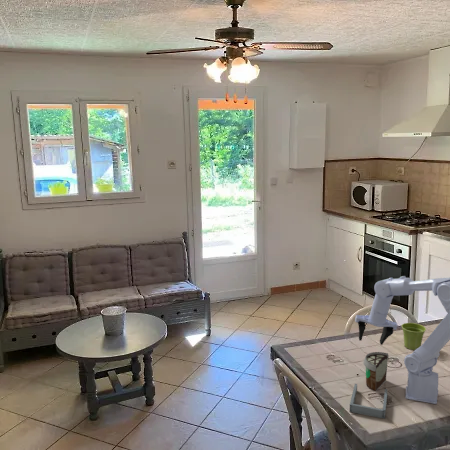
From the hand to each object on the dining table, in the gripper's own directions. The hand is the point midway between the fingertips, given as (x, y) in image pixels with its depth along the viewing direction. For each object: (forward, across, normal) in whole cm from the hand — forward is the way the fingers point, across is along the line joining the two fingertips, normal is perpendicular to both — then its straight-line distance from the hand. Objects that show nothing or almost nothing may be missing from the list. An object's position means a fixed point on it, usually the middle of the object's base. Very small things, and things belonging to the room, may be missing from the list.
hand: (370, 341), depth 170 cm
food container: (+10, -2, +11) cm, 15 cm away
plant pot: (+12, -23, -20) cm, 33 cm away
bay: (+8, +2, +25) cm, 26 cm away
